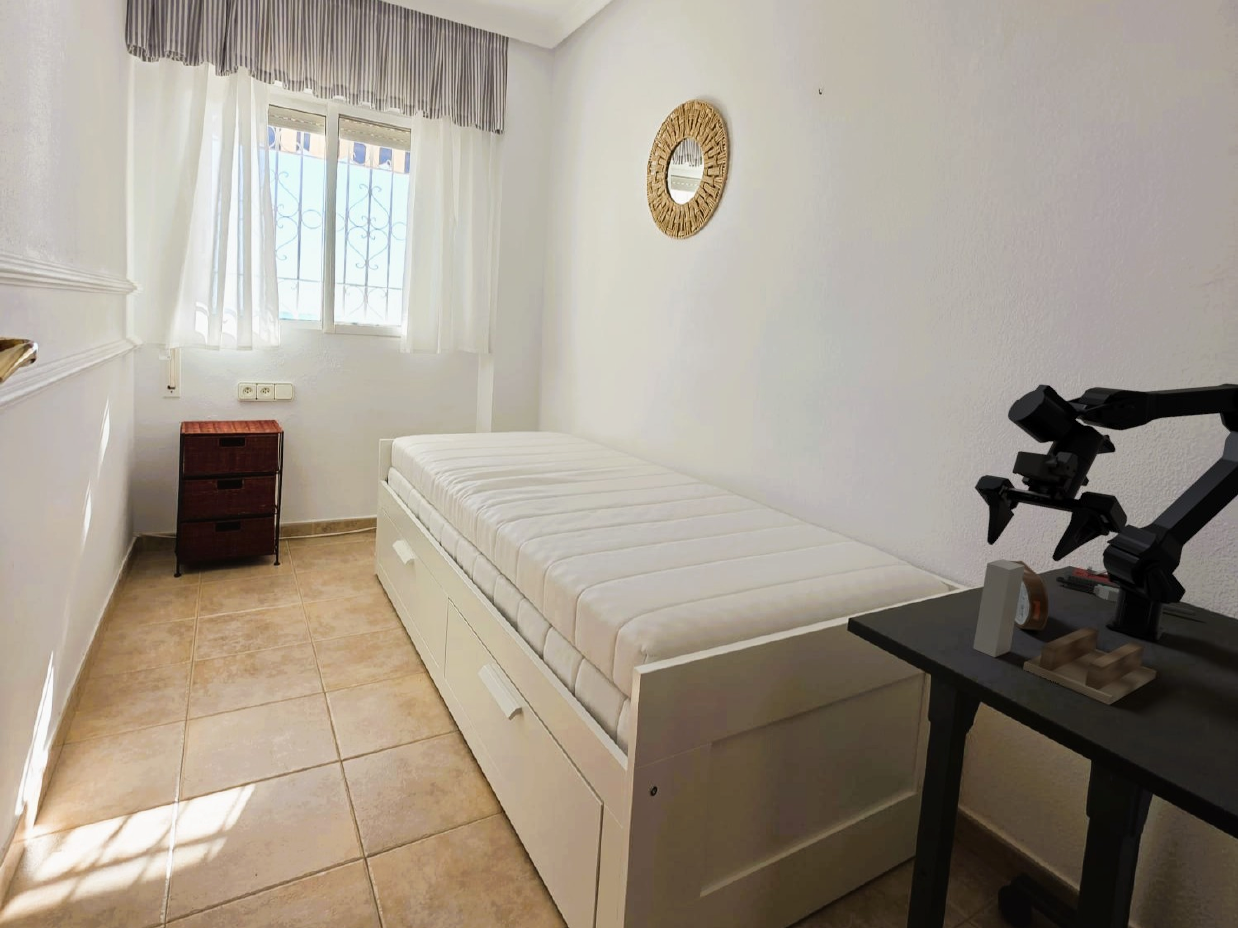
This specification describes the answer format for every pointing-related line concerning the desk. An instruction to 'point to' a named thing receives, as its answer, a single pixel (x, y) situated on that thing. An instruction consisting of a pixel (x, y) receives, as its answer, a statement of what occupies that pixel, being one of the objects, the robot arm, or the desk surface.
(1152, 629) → the robot arm
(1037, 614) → the tin
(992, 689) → the desk surface
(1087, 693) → the rack
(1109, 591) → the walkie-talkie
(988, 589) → the clay bar
